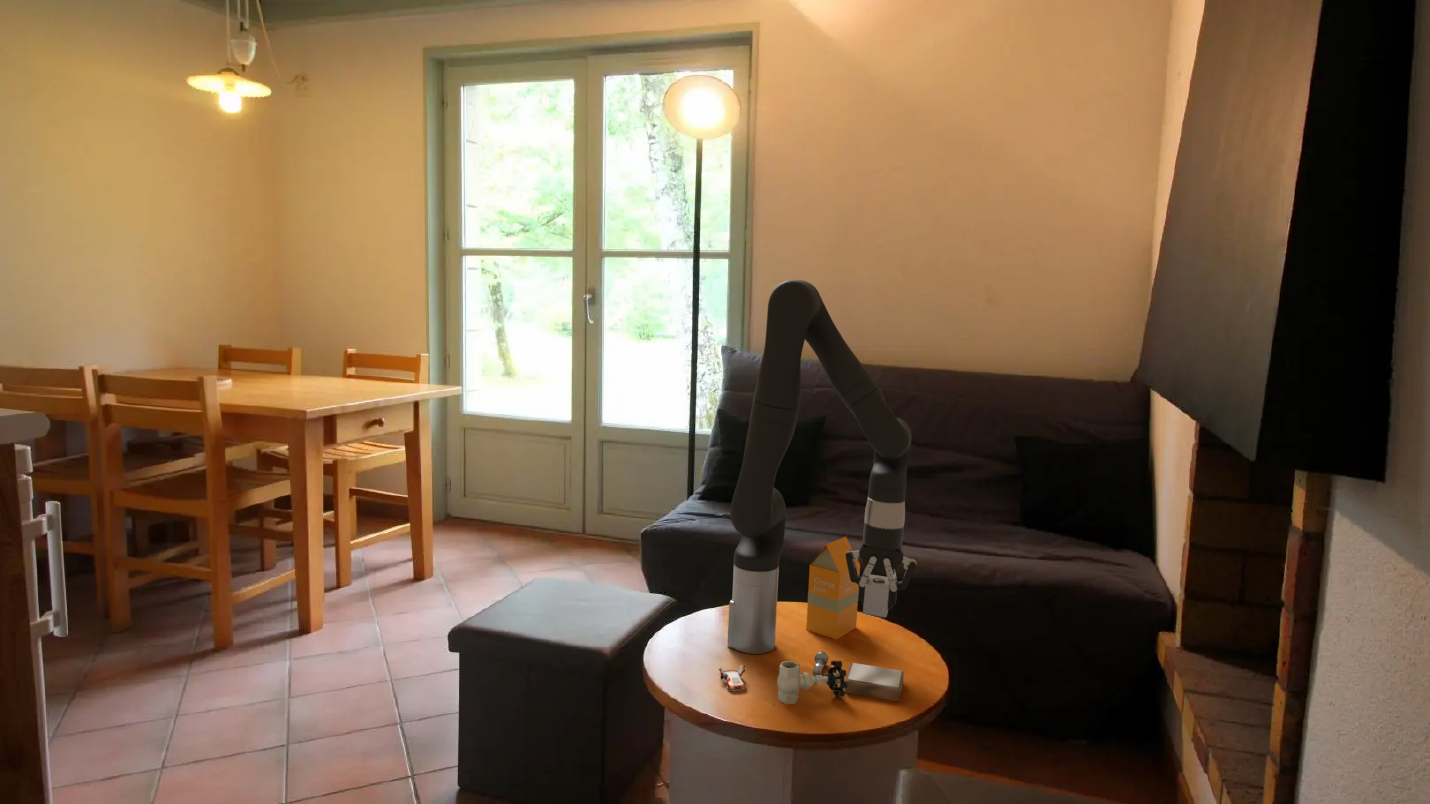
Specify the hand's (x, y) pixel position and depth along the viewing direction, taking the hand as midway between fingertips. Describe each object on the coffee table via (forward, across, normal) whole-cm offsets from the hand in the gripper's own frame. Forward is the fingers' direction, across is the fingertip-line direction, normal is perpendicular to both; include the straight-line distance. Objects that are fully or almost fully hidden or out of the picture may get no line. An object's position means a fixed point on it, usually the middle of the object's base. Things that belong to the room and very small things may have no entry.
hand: (876, 605), depth 166 cm
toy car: (+14, -24, -17) cm, 32 cm away
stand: (+12, +2, -9) cm, 16 cm away
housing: (+1, 0, 0) cm, 1 cm away
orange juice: (+13, -10, +16) cm, 23 cm away
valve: (+13, -9, -18) cm, 24 cm away
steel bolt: (+13, -9, -6) cm, 17 cm away
